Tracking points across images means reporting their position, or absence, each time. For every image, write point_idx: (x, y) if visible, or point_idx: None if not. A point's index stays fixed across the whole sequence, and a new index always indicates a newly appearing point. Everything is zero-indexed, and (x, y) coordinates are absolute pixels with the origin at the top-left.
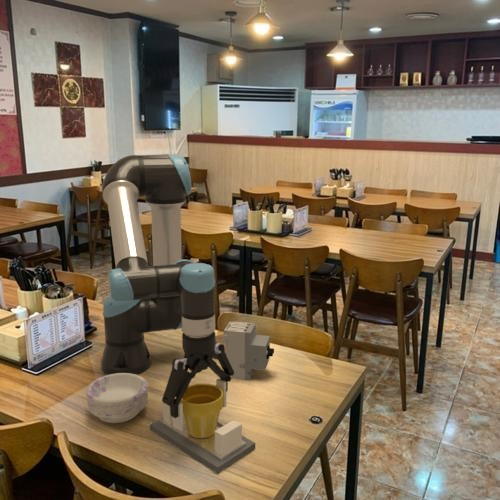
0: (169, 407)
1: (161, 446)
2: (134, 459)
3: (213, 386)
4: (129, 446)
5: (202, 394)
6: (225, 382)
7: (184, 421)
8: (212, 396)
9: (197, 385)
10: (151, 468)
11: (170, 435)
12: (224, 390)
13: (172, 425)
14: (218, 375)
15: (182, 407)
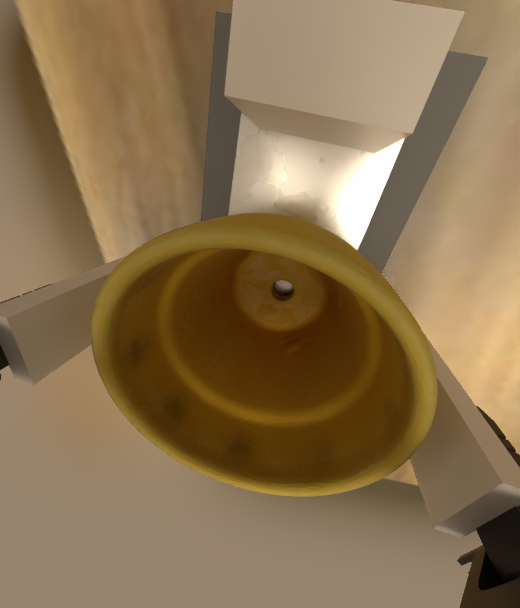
0: (233, 101)
1: (182, 179)
2: (89, 147)
3: (404, 431)
4: (105, 56)
5: (368, 306)
6: (451, 533)
7: (302, 184)
8: (371, 366)
9: (376, 309)
10: (107, 226)
11: (210, 188)
12: (412, 456)
13: (250, 154)
14: (510, 592)
15: (61, 364)
